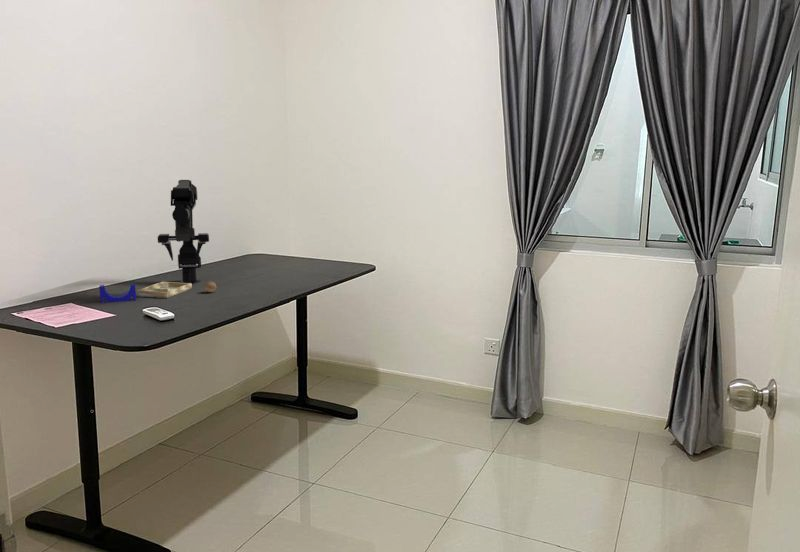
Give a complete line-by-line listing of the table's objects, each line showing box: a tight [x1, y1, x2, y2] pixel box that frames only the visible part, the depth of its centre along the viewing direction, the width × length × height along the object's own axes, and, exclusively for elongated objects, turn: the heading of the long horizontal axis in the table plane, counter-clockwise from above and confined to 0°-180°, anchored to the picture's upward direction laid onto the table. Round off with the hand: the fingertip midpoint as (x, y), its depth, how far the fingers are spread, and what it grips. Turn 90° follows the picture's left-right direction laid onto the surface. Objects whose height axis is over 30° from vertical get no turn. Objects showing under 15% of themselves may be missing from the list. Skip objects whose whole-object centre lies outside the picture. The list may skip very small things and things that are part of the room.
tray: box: [136, 281, 193, 299], centre depth 252 cm, size 18×13×2 cm
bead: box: [204, 281, 217, 294], centre depth 254 cm, size 4×4×4 cm
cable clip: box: [98, 283, 137, 304], centre depth 238 cm, size 12×4×6 cm, turn 111°
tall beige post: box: [160, 281, 169, 292], centre depth 250 cm, size 3×3×13 cm
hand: (184, 259), depth 250 cm, fingers open, 9 cm apart
